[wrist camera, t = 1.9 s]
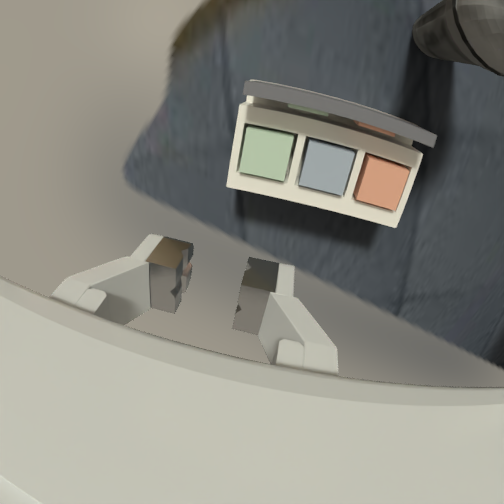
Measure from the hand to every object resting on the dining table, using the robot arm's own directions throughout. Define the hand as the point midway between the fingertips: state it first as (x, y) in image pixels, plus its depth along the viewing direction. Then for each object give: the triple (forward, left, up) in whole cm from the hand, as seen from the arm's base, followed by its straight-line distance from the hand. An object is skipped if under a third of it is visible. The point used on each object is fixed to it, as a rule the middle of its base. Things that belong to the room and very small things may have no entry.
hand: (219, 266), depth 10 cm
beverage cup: (-13, -15, -21) cm, 29 cm away
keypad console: (-5, -1, -21) cm, 22 cm away
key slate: (-5, 0, -17) cm, 18 cm away
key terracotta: (-10, 0, -17) cm, 20 cm away
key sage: (0, 0, -17) cm, 17 cm away
